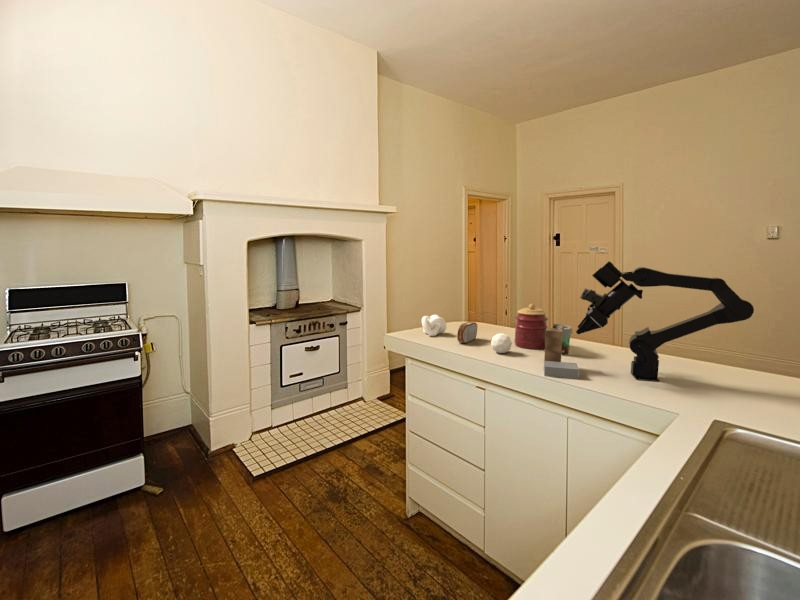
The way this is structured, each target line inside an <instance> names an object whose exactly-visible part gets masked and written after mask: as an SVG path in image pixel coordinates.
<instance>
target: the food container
mask: <svg viewBox="0 0 800 600" xmlns="http://www.w3.org/2000/svg"><path fill="white" fill-rule="evenodd" d="M552 328H556V329H563V331H562V352H561V356H562V355H567V354H568V353H569V349H570V340H571V335H572V334H573V328H572V327H571V326H569V325H567V324H562V323H561V324H560V323H553V324H552Z"/></svg>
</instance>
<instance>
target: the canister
mask: <svg viewBox="0 0 800 600" xmlns="http://www.w3.org/2000/svg"><path fill="white" fill-rule="evenodd" d="M517 313H518V314H517V315H516V316H515V320H516V323H515V324H514V326H515V328H514V345H515V346H516V347H519V348H523V349H528V350H529V349H530V350H541V349H545V334H546V329H547V328H549V326H548V322H547V321H548V320H549V317H547V316H546V314H547V312H546V311H545V310H544V309H542V308H538V307H536V305H535V304H534V303H529V304H528V307H522V308H521V309H519V310H517Z"/></svg>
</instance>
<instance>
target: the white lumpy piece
mask: <svg viewBox="0 0 800 600" xmlns="http://www.w3.org/2000/svg"><path fill="white" fill-rule="evenodd" d="M421 325H422V328H423V329H422V330H423V333H424V334H425V335H429V336H430V337H435V336H437V335H439V334H444V333H445V332H446V330H447V326H448V325H447V322H446V320H445V319H444V318H443V317H442V316H441V317H440V316H439V315H438V314H432V315H430V316H429V315H424V316H422V318H421Z"/></svg>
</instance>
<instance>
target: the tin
mask: <svg viewBox="0 0 800 600" xmlns="http://www.w3.org/2000/svg"><path fill="white" fill-rule="evenodd" d="M477 334H478V324H477V323H476V322H474V321H466V322H464V323H461V324H460V326H459V328H458V329H457V334H456V335H457V338H456V339H457V342H459V343H461V344H467V343H470V342H472V341H474V340H475V339H476V338H477Z"/></svg>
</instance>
